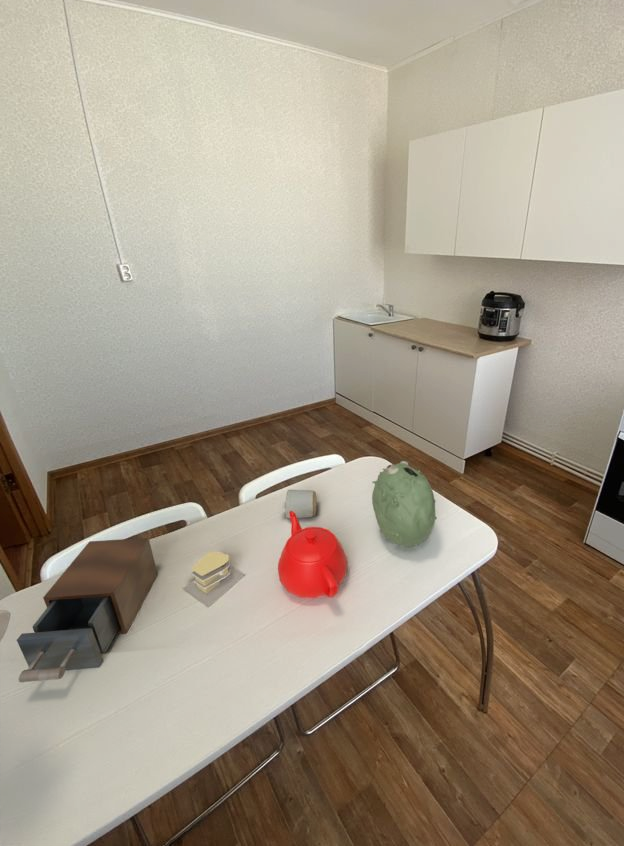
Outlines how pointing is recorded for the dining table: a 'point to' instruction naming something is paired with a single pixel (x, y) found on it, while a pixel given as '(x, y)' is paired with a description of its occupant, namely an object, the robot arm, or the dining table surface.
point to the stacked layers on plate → (212, 578)
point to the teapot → (311, 562)
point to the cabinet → (110, 576)
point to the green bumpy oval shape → (404, 505)
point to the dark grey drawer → (68, 637)
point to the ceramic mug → (301, 503)
